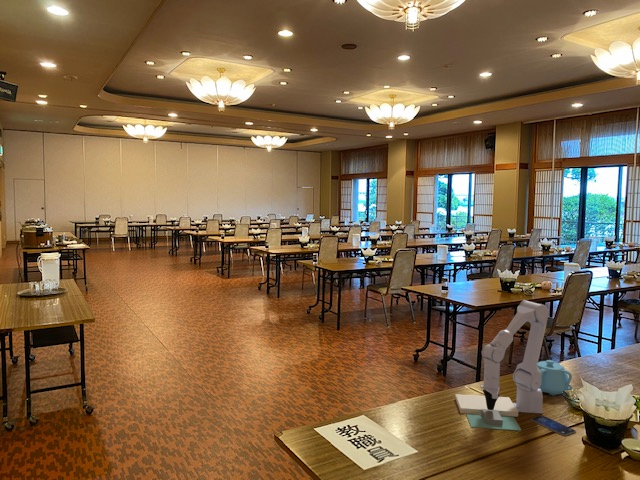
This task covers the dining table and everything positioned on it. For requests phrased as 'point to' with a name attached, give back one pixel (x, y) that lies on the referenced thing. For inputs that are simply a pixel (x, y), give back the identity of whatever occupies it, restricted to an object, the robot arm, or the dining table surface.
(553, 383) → the decorative pot
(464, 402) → the white flat board
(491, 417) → the grey bevelled tile
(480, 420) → the mat
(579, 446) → the dining table surface
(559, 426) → the smartphone
